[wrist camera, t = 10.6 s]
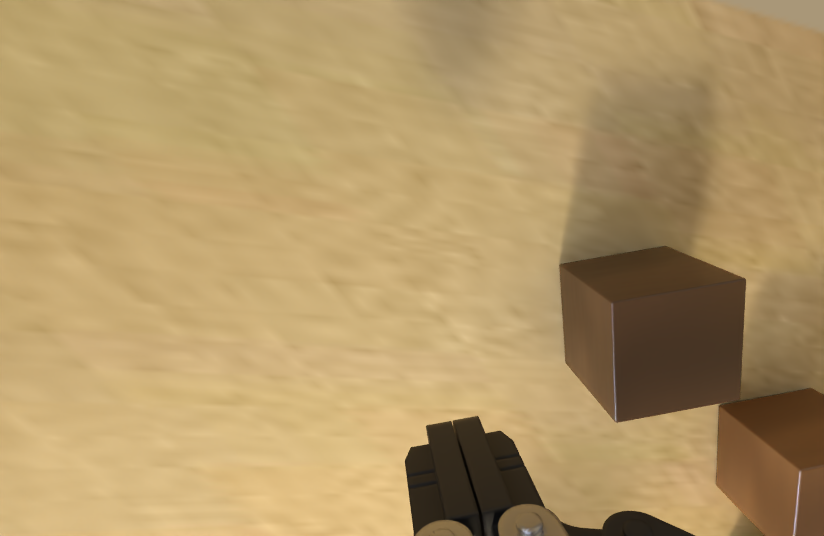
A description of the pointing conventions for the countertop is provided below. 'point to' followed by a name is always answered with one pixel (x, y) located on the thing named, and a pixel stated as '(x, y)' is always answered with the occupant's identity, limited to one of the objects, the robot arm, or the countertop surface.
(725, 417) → the oak block
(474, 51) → the countertop surface
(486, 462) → the robot arm
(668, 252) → the walnut block
